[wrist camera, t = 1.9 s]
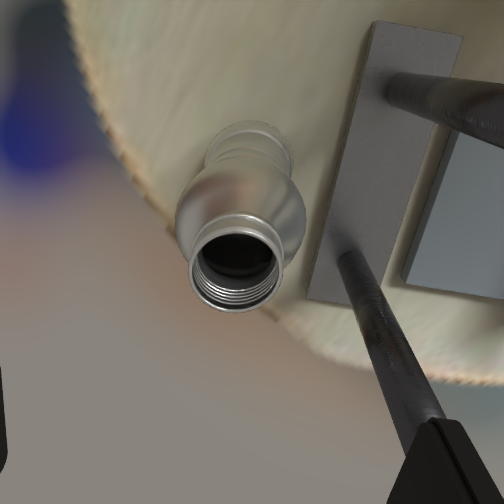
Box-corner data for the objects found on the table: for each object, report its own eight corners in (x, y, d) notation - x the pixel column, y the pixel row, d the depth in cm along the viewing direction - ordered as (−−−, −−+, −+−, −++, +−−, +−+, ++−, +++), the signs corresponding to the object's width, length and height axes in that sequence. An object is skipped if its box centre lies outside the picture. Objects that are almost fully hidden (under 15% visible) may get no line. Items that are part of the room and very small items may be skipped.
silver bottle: (307, 166, 35) (357, 287, 17) (239, 213, 37) (218, 369, 18) (259, 97, 33) (257, 151, 15) (191, 151, 35) (112, 258, 16)
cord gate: (372, 21, 31) (544, -31, 12) (454, 37, 31) (746, 10, 12) (305, 290, 40) (343, 498, 21) (369, 300, 40) (463, 514, 21)
